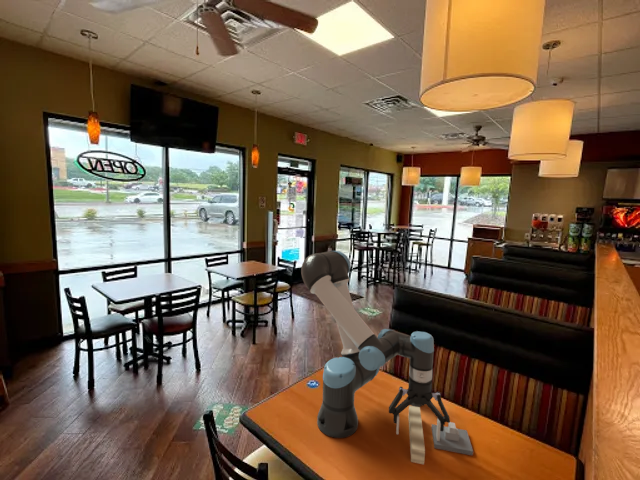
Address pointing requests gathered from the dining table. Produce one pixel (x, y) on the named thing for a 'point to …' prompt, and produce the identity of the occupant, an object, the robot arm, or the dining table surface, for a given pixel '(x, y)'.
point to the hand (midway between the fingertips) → (417, 435)
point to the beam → (416, 435)
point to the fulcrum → (452, 439)
